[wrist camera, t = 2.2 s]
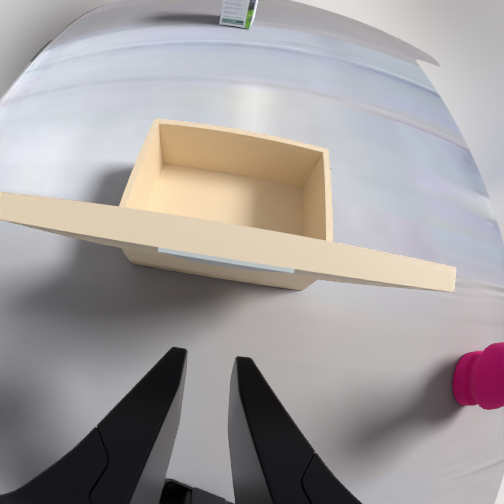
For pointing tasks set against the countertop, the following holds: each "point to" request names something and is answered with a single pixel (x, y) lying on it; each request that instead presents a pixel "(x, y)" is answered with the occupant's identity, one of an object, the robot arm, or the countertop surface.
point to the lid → (224, 243)
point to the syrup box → (238, 13)
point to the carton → (231, 189)
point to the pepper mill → (481, 378)
